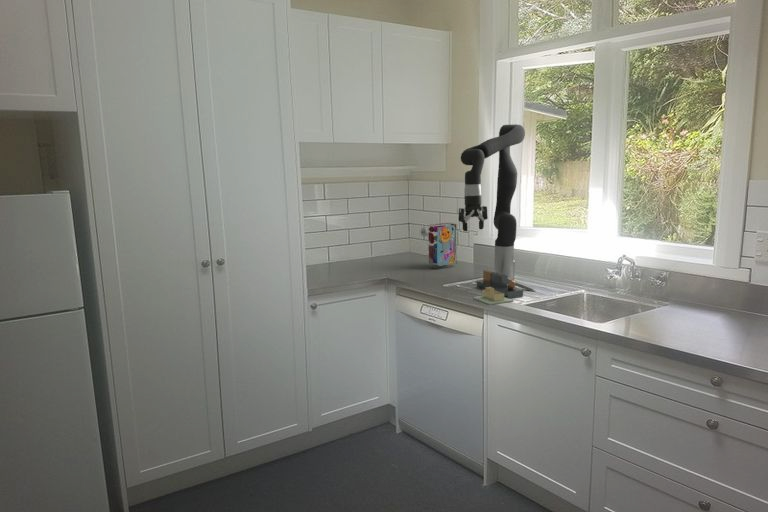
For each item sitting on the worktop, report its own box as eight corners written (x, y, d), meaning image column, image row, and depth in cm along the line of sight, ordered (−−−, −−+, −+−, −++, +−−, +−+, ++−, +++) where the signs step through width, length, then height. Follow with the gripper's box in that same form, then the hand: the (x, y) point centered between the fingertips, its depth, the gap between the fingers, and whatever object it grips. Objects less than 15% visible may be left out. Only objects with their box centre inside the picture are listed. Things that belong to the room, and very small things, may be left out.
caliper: (495, 285, 265) (496, 272, 264) (497, 285, 266) (497, 272, 265) (535, 292, 251) (535, 278, 250) (536, 291, 252) (536, 278, 251)
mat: (496, 295, 245) (496, 294, 245) (513, 301, 234) (513, 300, 234) (473, 298, 240) (473, 297, 240) (489, 304, 229) (489, 303, 229)
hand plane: (490, 285, 264) (491, 269, 262) (523, 296, 242) (523, 278, 241) (476, 287, 261) (477, 270, 259) (507, 298, 239) (508, 280, 238)
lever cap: (491, 295, 242) (491, 286, 241) (504, 300, 234) (504, 290, 233) (482, 296, 240) (482, 287, 239) (494, 301, 232) (494, 291, 231)
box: (424, 272, 296) (424, 226, 292) (416, 270, 301) (416, 225, 297) (457, 266, 311) (457, 223, 307) (449, 264, 316) (449, 222, 312)
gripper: (480, 193, 256) (481, 227, 259) (454, 195, 250) (455, 230, 253) (490, 193, 250) (491, 229, 252) (464, 195, 243) (464, 232, 246)
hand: (473, 230), depth 253 cm, fingers open, 8 cm apart
